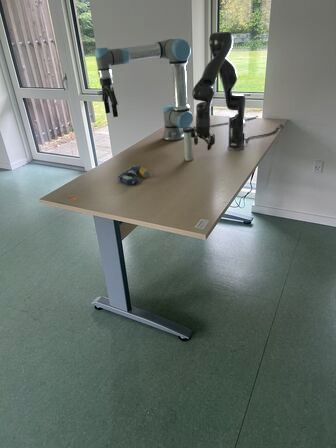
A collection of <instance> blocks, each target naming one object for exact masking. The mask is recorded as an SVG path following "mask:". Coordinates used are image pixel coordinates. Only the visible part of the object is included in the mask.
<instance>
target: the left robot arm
mask: <svg viewBox="0 0 336 448" xmlns="http://www.w3.org/2000/svg"><path fill="white" fill-rule="evenodd" d="M191 52H192V51H191V45H190V44H189V42H188V41H186V39H182V38H169V39H164V40H161V41H155V42H154V43H153V44H144V45H135V46H127V47H119V48H108V47H97V48H95V50H94V57H95V62H96V66H97V75H98V78H99V84H100V86H101V101H102V102H103V105H104V110H105V114H110V113H111V111H112V115H113V116H112V117H113V118H118V117H119V113H118V105H119V104H118V100H117V97H116V93H115V89H114V87H112V86H113V85H114V80H113V73H112V66H117V65H125V64H128V63H130V62H131V61H139V60H146V59H154V58H156V59H157V60H159V59H163V60H165V59H166V60H168V61H169V62H168V63H169V65H170V66H171V70H172V86H173V87H172V88H173V102H174V104H173V105H166V106H165V107H163V122H164V130H163V135H162V139H163V140H164V141H167V142H176V141H180V140H182V139H184V132H183V128H184V127H191V125H192V124H193V121H194V115H193V113H192V112H191V109H190V108H191V107H190V105H189V104H188V90H187V71H186V65H188V60H189V58H190V56H191ZM109 102H110V103H111V104H110V103H109ZM110 105H111V106H110ZM110 107H111V109H110ZM257 118H259V115H256V116H253V117H250V118H244V121H249V120H253V119H257ZM222 125H229V121H228V122H223V123H218V124H210V128H211V127H216V126H222Z"/></svg>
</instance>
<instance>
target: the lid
mask: <svg viewBox="0 0 336 448" xmlns="http://www.w3.org/2000/svg"><path fill="white" fill-rule="evenodd" d="M192 128H193V127H192V126H189V127H184V128H182V132H183V133H190V132H191V129H192Z"/></svg>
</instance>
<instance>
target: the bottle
mask: <svg viewBox="0 0 336 448" xmlns="http://www.w3.org/2000/svg"><path fill="white" fill-rule="evenodd" d="M183 133H184V132H183ZM183 145H184V160H185V161H187V162H190V161H193V159H194V152H193V151H194V150H193V137H191V132H190V133H184V137H183Z"/></svg>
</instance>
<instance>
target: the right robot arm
mask: <svg viewBox="0 0 336 448" xmlns="http://www.w3.org/2000/svg"><path fill="white" fill-rule="evenodd" d="M208 39H209V40H208V44H209V49H210V52H211V54H212V57H213V58H212V59H211V60H210V61H209V62H208V63H207V64H206V66H205V68H204V70H203V72H202V75H201V77H200V79H199V80H198V81H197V83H196V84H195V86H194V87H193V89H192V93H191V94H192V95H191V96H192V98H193V100H195V101H199V102H198V103H197V104H196V107H195V125H194V126H193V127H192V129H191V137H192V139H193V143H194V145H195V146H197V145H198V144H199V139H201V140H203V141H204V142H205V143H206V144H207V147H206V149H207V151H211V149H212V146H214V144H216V135H215V134H214V133H213V134H211V132H210V131H211V127H210V126H211V106H212V102H213V100H214V97H215V90H214V87H213V86H214V85H215V84H216V81H217V78H218V76H219V80H220V83H221V86H222V89H223V93H224V99H225V100H224V101H225V105H226V108H227V110H229V111H235V112H236V111H237V112H236V113H235V114H233V115H230V116H229V118H228V122H229V123H228V143H227V145H228V146H227V148H228V150H229V151H230V150H231V151H240V150H242V149H244V148H245V143H248V142H249V139H252V138H258V137H263V136H267V135H271V134H274V133H276V132H277V130H278V128H279V127H282V126H283V125H282V124H281V123H280V124H279V125H277V127H276V128H275V130H273V131H271V132H269V133H268V132H267V133H264V134H258V135H252V136H249V137H247V139H246V138H245V133H244V126H245V125H244V124H245V122H244V120H245V110H246V96H245V95H244V94H234V93H233V89H234V87H235V85H236V83H237V81H238V74H237V69H236V67H235V65H234V64H233V63H232V62H231V61H230V60H229V59H228V58H227V57H228V56H229V54H230V52H231V50H232V48H233V45H234V36H233V34H232V32H230V31H215V32H212V33H211V34H210V36H209V38H208Z"/></svg>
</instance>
